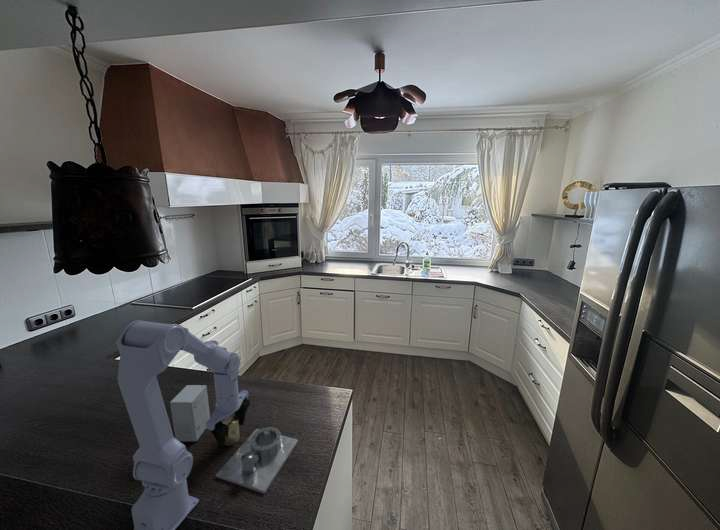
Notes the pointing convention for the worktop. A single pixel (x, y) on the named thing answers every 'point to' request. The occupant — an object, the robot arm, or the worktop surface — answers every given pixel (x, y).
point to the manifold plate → (261, 466)
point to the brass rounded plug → (231, 430)
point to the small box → (190, 412)
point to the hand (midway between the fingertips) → (231, 433)
